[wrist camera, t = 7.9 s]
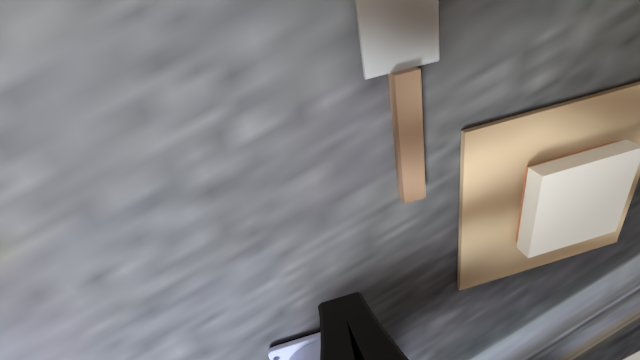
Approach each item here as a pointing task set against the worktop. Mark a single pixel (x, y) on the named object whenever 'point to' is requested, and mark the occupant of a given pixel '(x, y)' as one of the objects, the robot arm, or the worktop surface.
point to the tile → (575, 197)
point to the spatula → (401, 74)
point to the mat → (509, 173)
